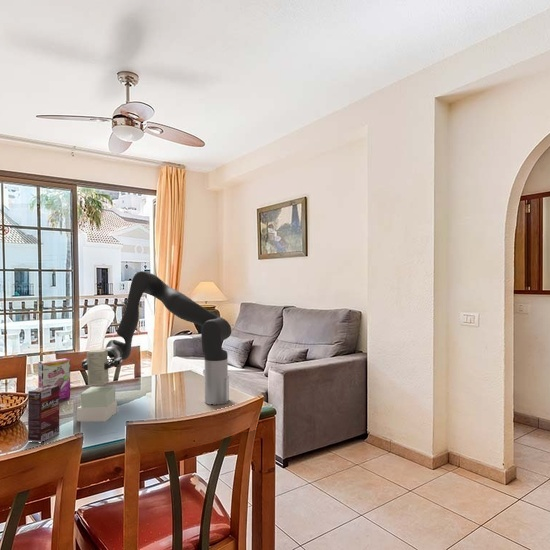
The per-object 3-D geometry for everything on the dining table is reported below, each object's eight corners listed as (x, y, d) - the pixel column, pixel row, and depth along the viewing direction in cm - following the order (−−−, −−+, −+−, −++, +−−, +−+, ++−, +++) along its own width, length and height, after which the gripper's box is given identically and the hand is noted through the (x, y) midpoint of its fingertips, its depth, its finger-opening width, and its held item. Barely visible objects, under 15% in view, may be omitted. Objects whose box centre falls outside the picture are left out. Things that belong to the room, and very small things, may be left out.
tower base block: (116, 412, 158) (116, 399, 158) (105, 422, 148) (105, 407, 148) (90, 412, 158) (90, 399, 158) (77, 422, 148) (77, 408, 148)
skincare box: (109, 381, 155) (108, 349, 155) (104, 385, 151) (104, 351, 151) (91, 382, 155) (91, 349, 155) (86, 385, 151) (86, 351, 151)
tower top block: (115, 399, 158) (115, 386, 158) (106, 407, 149) (106, 393, 149) (91, 400, 158) (91, 386, 158) (80, 407, 149) (80, 393, 149)
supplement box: (41, 444, 129) (40, 392, 128) (27, 442, 130) (26, 391, 129) (60, 433, 137) (60, 384, 137) (47, 432, 138) (47, 384, 138)
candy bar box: (42, 404, 168) (41, 363, 168) (38, 401, 172) (37, 361, 172) (71, 398, 176) (70, 359, 176) (66, 395, 180) (66, 357, 180)
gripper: (89, 348, 166) (74, 357, 150) (126, 347, 168) (116, 356, 151) (89, 367, 166) (74, 378, 150) (127, 366, 168) (116, 376, 151)
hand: (95, 367), depth 151 cm, fingers closed on skincare box, 6 cm apart
